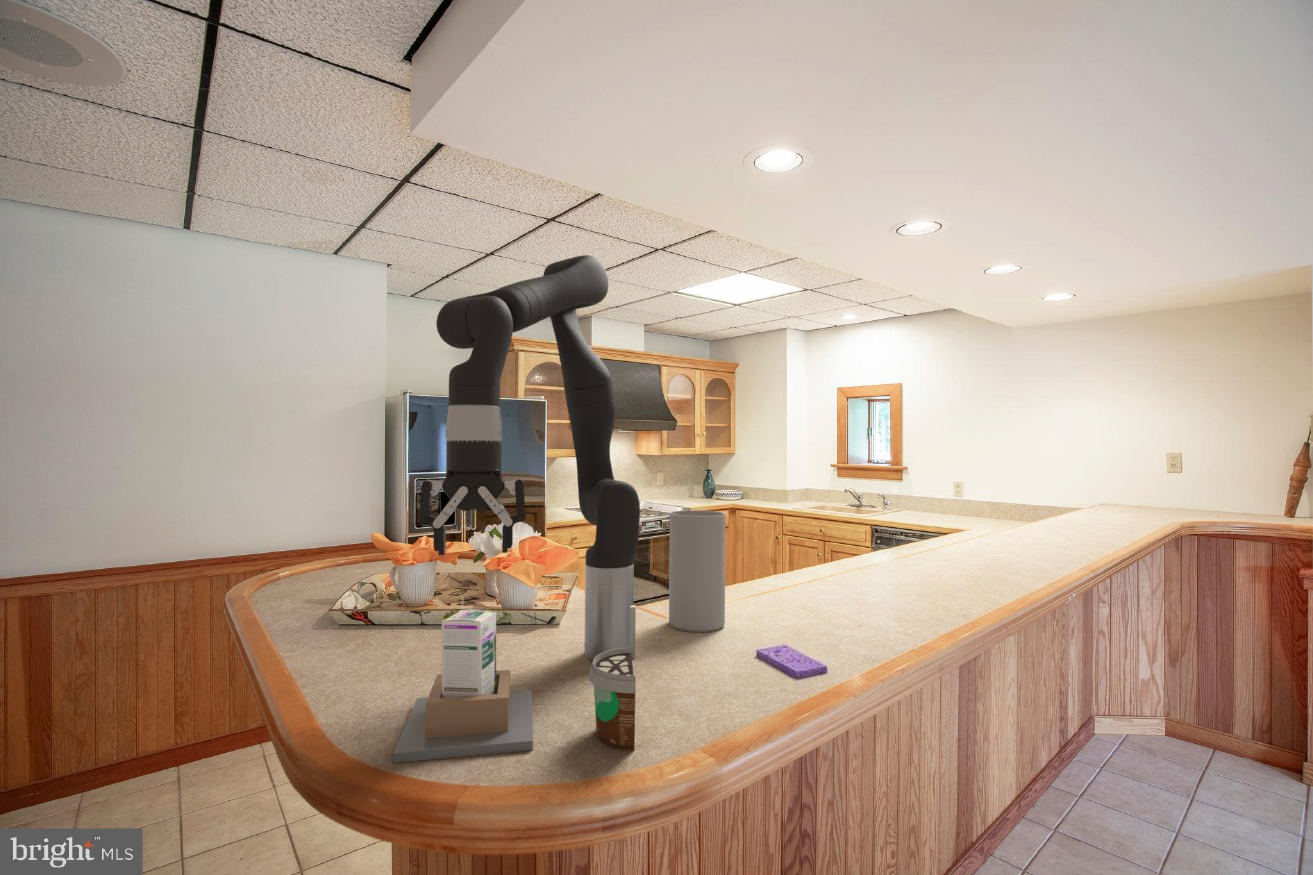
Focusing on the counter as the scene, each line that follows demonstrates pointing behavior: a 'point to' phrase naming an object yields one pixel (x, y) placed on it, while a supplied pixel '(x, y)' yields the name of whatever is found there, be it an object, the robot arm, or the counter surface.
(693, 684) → the counter surface
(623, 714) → the food container
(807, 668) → the sponges
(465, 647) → the syrup box
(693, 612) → the cylinder vase
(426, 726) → the socket holder
